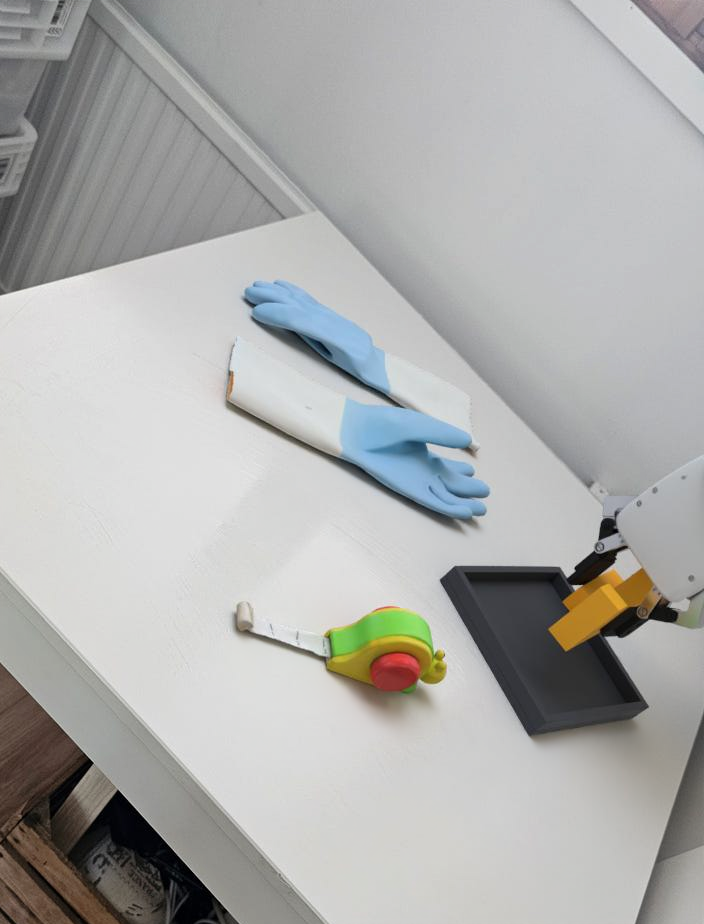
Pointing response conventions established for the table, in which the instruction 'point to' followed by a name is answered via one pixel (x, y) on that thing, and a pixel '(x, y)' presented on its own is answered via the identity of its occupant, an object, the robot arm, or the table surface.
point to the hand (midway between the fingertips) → (593, 606)
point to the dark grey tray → (540, 648)
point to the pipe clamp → (599, 606)
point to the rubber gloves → (359, 404)
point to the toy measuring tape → (366, 647)
